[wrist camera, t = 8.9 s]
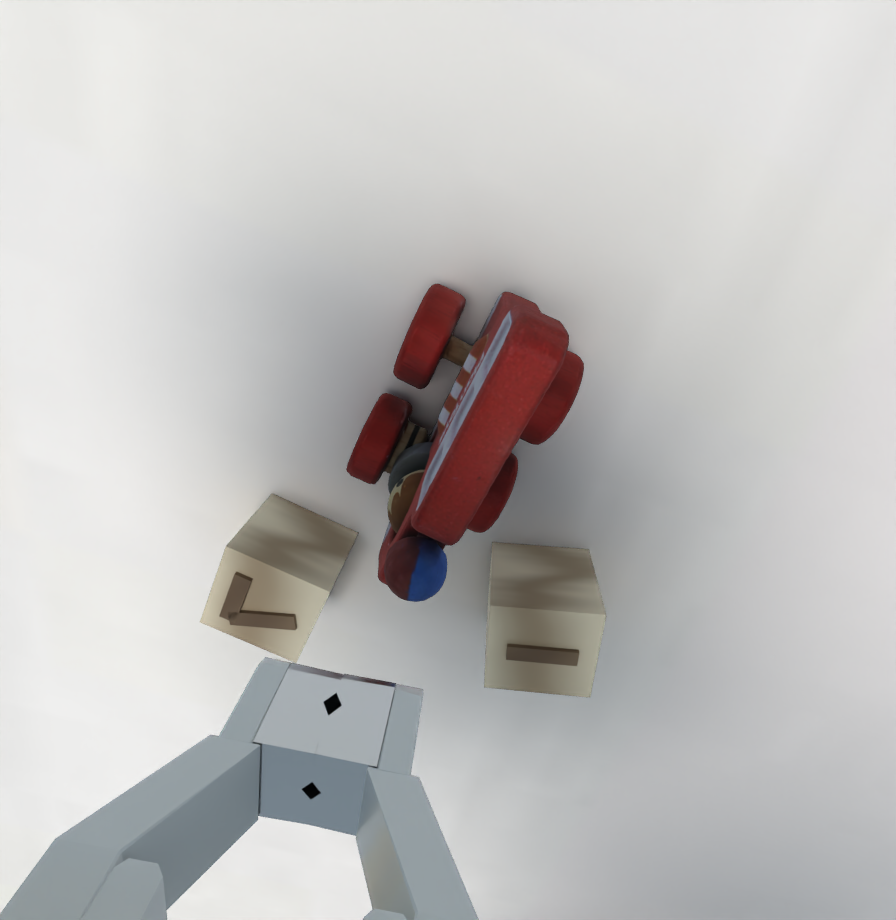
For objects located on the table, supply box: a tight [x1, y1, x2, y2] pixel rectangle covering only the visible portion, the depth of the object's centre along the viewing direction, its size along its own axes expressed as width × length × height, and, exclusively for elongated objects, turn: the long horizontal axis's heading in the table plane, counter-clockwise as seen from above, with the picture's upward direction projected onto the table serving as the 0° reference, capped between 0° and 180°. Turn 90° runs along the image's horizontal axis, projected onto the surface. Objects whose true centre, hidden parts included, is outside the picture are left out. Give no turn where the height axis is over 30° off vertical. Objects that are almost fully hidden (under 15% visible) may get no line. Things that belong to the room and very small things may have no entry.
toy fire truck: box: [346, 284, 584, 602], centre depth 19 cm, size 7×12×10 cm, turn 154°
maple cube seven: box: [200, 494, 358, 663], centre depth 26 cm, size 5×5×5 cm
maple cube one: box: [484, 542, 606, 697], centre depth 25 cm, size 5×5×5 cm
